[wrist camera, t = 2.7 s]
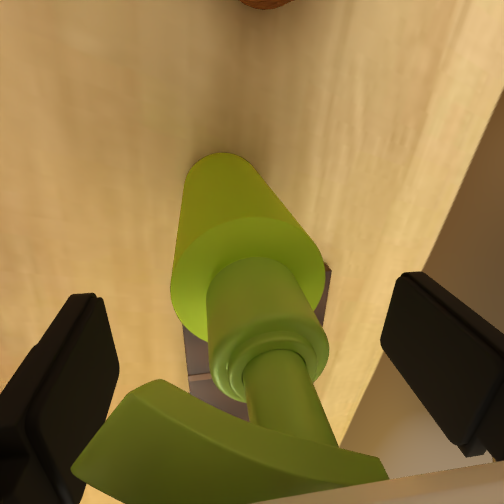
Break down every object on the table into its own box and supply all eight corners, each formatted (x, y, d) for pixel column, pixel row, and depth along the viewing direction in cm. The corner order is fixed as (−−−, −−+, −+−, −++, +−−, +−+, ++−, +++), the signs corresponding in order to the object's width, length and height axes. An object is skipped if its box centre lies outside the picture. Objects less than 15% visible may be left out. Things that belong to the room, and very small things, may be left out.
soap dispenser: (199, 125, 20) (222, 305, 3) (276, 183, 23) (531, 457, 6) (155, 195, 22) (-4, 583, 4) (232, 241, 25) (321, 595, 7)
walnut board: (178, 272, 25) (177, 282, 24) (325, 262, 27) (332, 271, 26) (195, 433, 35) (195, 446, 34) (302, 417, 37) (306, 429, 36)
